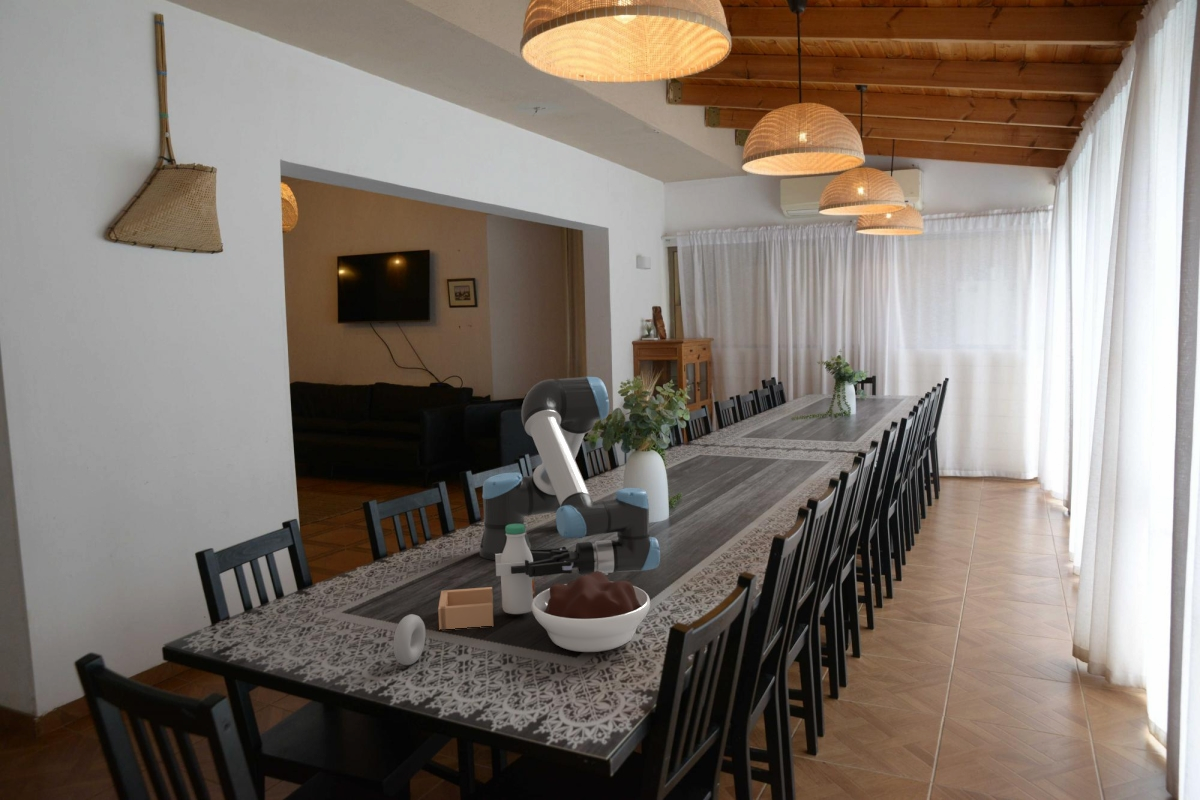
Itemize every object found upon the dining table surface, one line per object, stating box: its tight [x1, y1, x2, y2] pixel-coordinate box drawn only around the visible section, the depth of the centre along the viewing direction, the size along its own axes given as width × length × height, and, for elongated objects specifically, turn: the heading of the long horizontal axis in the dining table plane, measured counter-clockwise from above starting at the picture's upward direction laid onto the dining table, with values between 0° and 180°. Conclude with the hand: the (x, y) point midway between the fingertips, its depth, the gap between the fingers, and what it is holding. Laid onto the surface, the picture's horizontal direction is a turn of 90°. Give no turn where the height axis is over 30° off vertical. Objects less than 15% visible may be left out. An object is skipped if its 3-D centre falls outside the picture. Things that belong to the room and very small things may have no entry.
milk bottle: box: [500, 523, 536, 615], centre depth 195 cm, size 8×8×20 cm
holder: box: [437, 586, 494, 630], centre depth 194 cm, size 12×13×5 cm
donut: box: [392, 613, 427, 666], centre depth 169 cm, size 10×4×10 cm, turn 165°
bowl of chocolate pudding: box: [531, 571, 651, 653], centre depth 177 cm, size 25×25×15 cm
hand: (495, 564), depth 194 cm, fingers closed on milk bottle, 7 cm apart
